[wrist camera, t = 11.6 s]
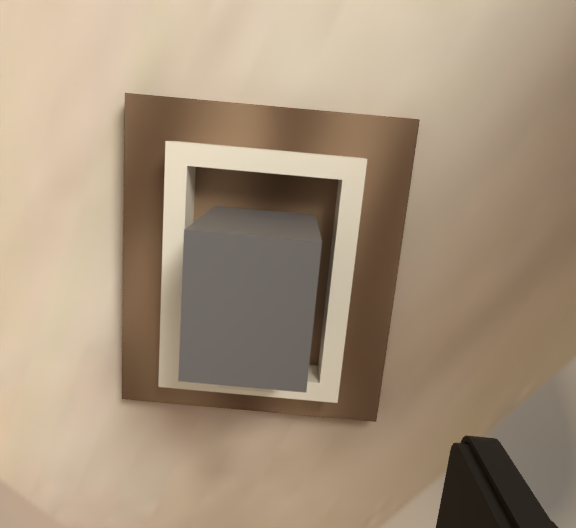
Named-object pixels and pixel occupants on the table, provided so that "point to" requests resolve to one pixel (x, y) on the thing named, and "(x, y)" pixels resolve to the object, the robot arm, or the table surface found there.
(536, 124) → the table surface
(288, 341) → the grey rectangular block
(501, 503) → the robot arm
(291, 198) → the brown piece
